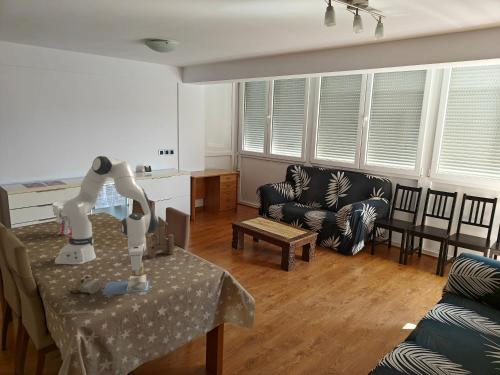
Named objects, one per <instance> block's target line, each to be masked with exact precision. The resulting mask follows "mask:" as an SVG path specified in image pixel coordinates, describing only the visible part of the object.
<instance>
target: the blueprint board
mask: <svg viewBox="0 0 500 375" xmlns="http://www.w3.org/2000/svg"><path fill="white" fill-rule="evenodd" d="M150 285H151V279H146V288H145V289H142V290H129V280H122V281H107V282H106V283H105V285H104V289H103V292H102V294H101V295H102V296H109V295H110V296H111V295H123V294H137V293H139V294H140V293H150V288H151V286H150Z"/></svg>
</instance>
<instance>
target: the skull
mask: <svg viewBox="0 0 500 375" xmlns="http://www.w3.org/2000/svg"><path fill="white" fill-rule="evenodd" d="M69 200H70V199H65V200H58V201H54V202H52V211H53V216H55V217H56V218H55V219H56V220H55V221H56V223H57V224H59V226H60V231H59V232H57V234H56V235H57V236H58V235H61V237H63V236H64V235H65V236H66V235H67V236H68V235H69V234H70V236H71V235H72V229H71V223H70V220H69V218H68V216H66V215H65V213H64V211H63V207H64V205H65V204H66V203H67V202H68V201H69Z"/></svg>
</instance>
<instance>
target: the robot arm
mask: <svg viewBox="0 0 500 375" xmlns="http://www.w3.org/2000/svg"><path fill="white" fill-rule="evenodd" d="M108 178H109V179H110V178H112V179H113V181H114V188H115V191H116V192H117V194H118V195H120V196H121V197H123V198H126V199H131V200H134V201H135V202H136V201H137V202H138V203H139V204H140V206H141V209H142V211H143V213H144V215H143V213H139V212H138V213H137V212H133V213H130V214H128V216H127V217H124V218H123V219H122V220H121V222H120V223H121V233H122V234H123V235H125V236H127V237H128V238H127V250H128V256H129V257H130V265H131V271H132V270H133V271H135V274H136V275H139V270H140V266H141V263H142V258H143V254H144V252H145V250H147V239H146V238H147V237H146V234H148V235H149V234H153V233H154V232H155V231H156V230H157V228H158V217H157V216H156V213H155V212H154V210H153V207H152V205H151V202H150V200H149V198H148V195H147V193H146V191H145V189H144V188H142V187H141V186H140V185H139V184H138V182H137V180H136V176H135V172H134V170H133V167H132V165H131V164H130V163H129V162H126V161H122V160H119V159H117V158H113V157H107V156H104V155H100V156H99V155H98V156H97V157H95V159H94V160H93V161H92V165H91V167H90V168H89V169H88V171H87V173H86V175H85V176H84V178H83V180H82V181H81V183H80V190H79V193H78V195H76V196H75V197H73V198H70V199H68V200H69V201H68V202H67V203H66V204H65V205H64V207H63V211H64V213H65V215H66V216H68V218H69V220H70V223H71V229H72V235H71V234H70V235H69V238H68V239H67V242H68V243H67V244H65V246H63V247H62V248H61V249H60V251H59V253H58V256H57V257H55V259H54V264H56V265H83V264H84V263H88V262H91V261H94V260H95V259H96V258H97V255H96V253H95V248H94V242H95V241H94V235H93V227H92V225H93V224H92V222H91V221H90V220H89V217H88V212H90V211H92V210H93V209H94V208H95V206H96V205H97V200H98V197H99V194H100V192H101V190H102V188H103V187H104V185H105V183H106V182H107V179H108Z"/></svg>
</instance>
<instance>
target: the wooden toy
mask: <svg viewBox="0 0 500 375" xmlns="http://www.w3.org/2000/svg"><path fill="white" fill-rule="evenodd" d="M157 221H158V228H157V230H156V231H155V232H154V233H152V235H150V244H149V245H146V251H147V254H146V255H147V257H149V258H150V259H154V258H157V252H158V251H162V253H163V254H165V255H167V254H168V255H170V256H171V255H174V234H168V238H167V237H166V235H165V226H169V223H168V222H166V221H165V220H164V219H163V218H162V217H160V216H159V215H158V216H157Z"/></svg>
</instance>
